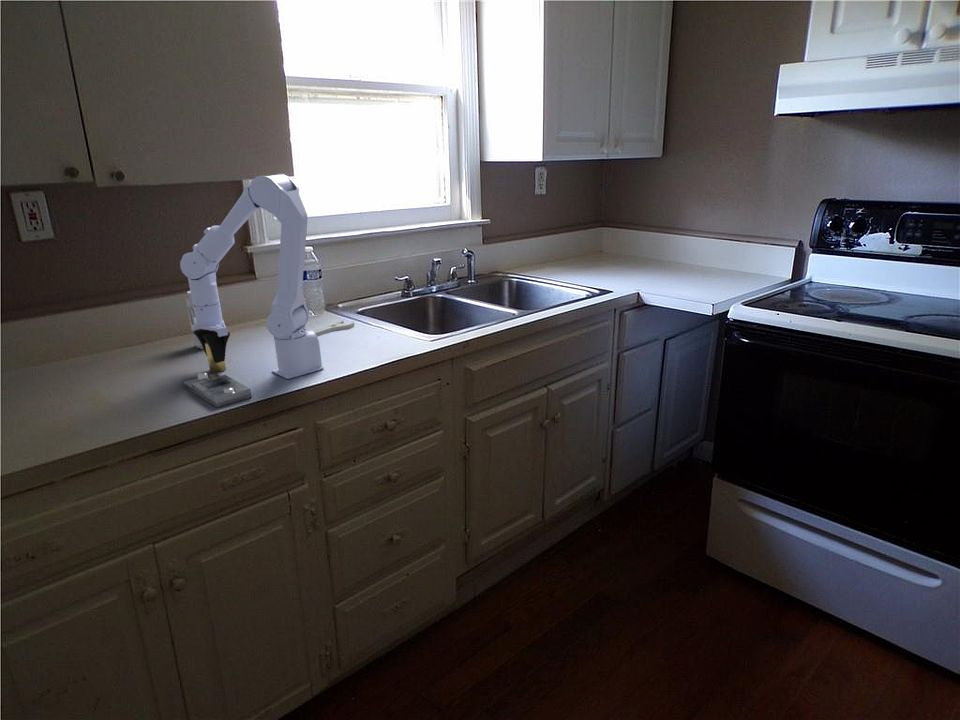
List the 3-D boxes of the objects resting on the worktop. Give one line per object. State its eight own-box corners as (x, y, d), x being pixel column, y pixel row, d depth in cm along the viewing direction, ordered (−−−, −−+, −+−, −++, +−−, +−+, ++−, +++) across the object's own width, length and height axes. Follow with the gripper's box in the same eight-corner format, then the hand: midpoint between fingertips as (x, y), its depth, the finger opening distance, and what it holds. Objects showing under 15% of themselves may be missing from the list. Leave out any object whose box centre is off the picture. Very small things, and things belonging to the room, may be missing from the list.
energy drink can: (190, 349, 165) (180, 294, 160) (201, 342, 171) (191, 288, 166) (212, 349, 165) (202, 293, 160) (222, 342, 171) (213, 288, 166)
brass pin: (222, 366, 151) (217, 339, 149) (228, 370, 149) (223, 341, 147) (207, 370, 149) (202, 342, 147) (213, 373, 146) (208, 345, 144)
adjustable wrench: (281, 349, 165) (280, 343, 165) (268, 345, 169) (267, 338, 169) (357, 327, 182) (357, 321, 182) (344, 324, 187) (343, 318, 186)
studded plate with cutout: (216, 377, 144) (215, 367, 143) (251, 397, 132) (249, 386, 131) (183, 386, 139) (181, 375, 138) (216, 407, 127) (214, 396, 126)
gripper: (176, 302, 146) (187, 357, 150) (201, 312, 136) (211, 371, 140) (207, 296, 151) (216, 350, 155) (232, 306, 141) (241, 363, 145)
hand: (216, 359), depth 148 cm, fingers closed on brass pin, 4 cm apart
